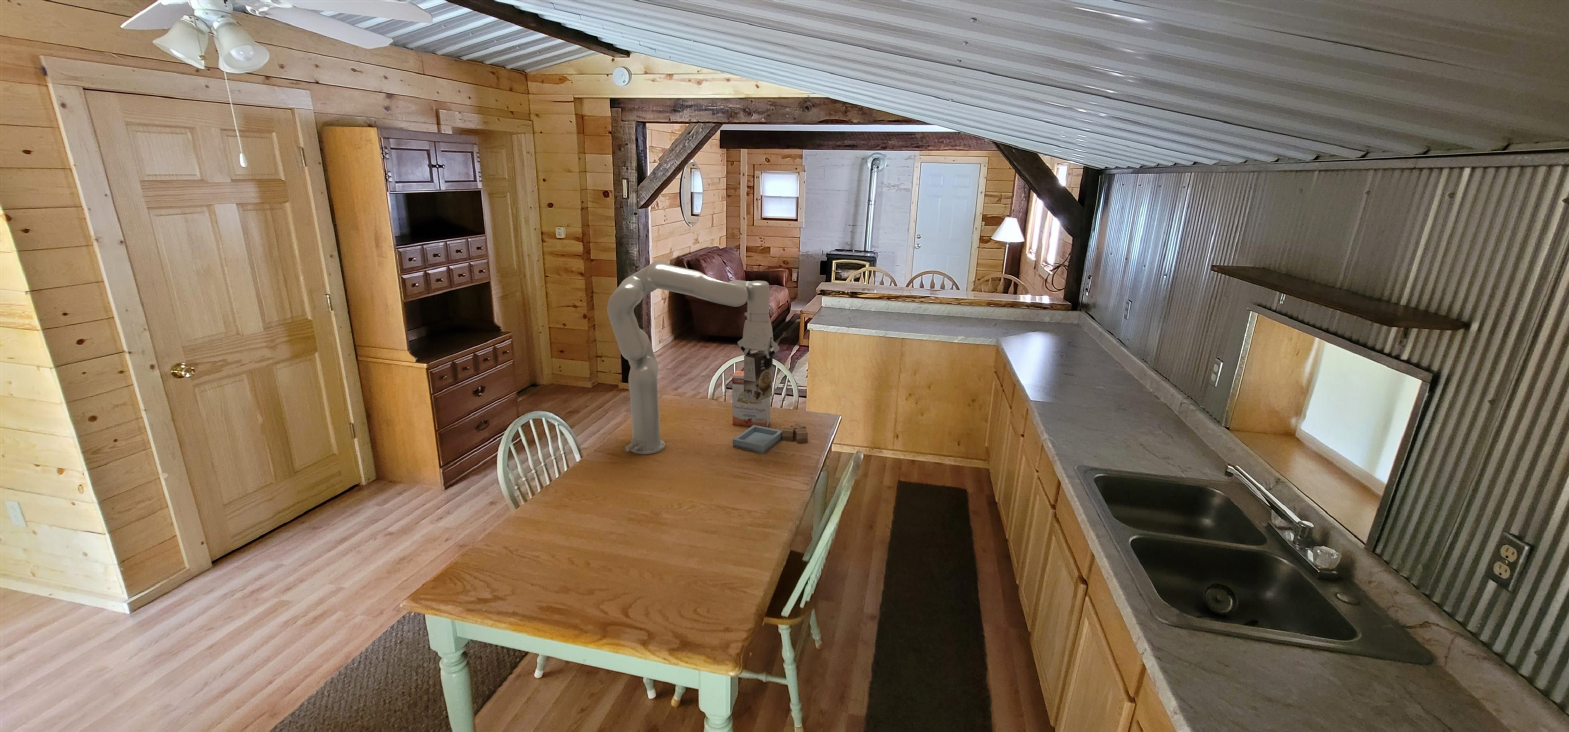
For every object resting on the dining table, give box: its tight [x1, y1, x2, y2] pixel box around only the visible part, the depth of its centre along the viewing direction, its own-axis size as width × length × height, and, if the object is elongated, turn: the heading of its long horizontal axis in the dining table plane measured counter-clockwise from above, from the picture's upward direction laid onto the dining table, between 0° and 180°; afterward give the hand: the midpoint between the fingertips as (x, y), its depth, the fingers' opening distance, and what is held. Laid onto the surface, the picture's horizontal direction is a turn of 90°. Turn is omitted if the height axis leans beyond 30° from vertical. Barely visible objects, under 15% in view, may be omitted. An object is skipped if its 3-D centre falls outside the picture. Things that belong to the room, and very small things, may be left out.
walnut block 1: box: [781, 426, 795, 442], centre depth 240 cm, size 4×4×4 cm
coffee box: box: [743, 351, 774, 402], centre depth 229 cm, size 9×6×16 cm
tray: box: [732, 425, 783, 455], centre depth 236 cm, size 15×12×3 cm
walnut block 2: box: [790, 422, 807, 430], centre depth 243 cm, size 4×4×4 cm
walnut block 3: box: [794, 428, 809, 444], centre depth 238 cm, size 4×4×4 cm
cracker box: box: [731, 370, 771, 428], centre depth 250 cm, size 14×6×21 cm, turn 78°
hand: (758, 366), depth 228 cm, fingers closed on coffee box, 7 cm apart
